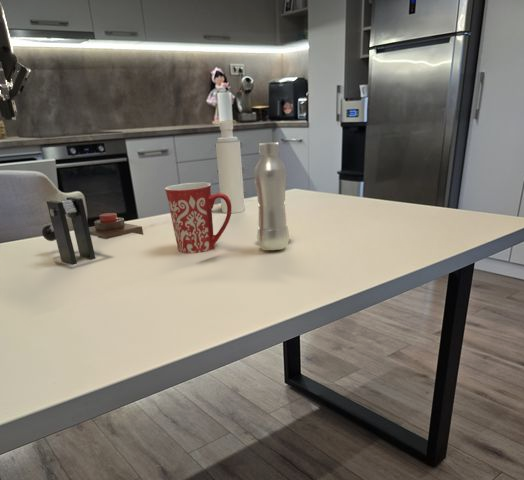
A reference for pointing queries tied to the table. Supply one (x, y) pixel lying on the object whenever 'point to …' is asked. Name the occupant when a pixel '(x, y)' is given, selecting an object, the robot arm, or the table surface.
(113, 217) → the button
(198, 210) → the mug
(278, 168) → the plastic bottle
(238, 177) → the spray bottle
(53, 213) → the bracket
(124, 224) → the button block
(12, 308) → the table surface
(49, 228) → the tap lever
